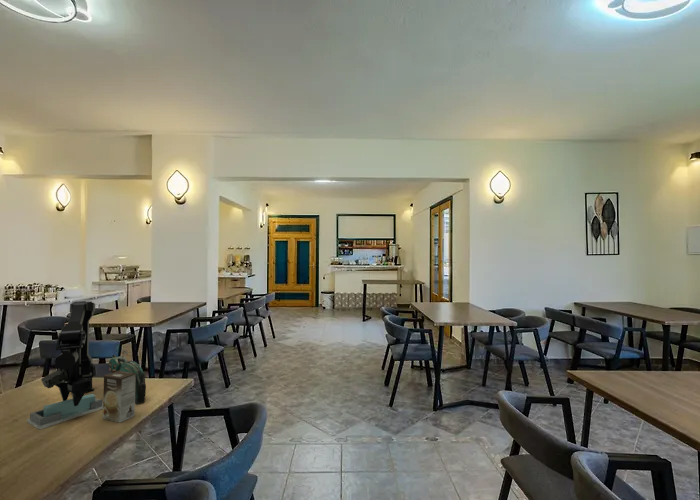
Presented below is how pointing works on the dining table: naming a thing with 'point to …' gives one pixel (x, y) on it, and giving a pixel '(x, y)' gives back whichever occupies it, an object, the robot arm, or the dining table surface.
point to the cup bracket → (43, 422)
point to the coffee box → (119, 396)
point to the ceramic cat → (131, 367)
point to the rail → (68, 406)
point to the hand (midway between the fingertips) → (70, 403)
